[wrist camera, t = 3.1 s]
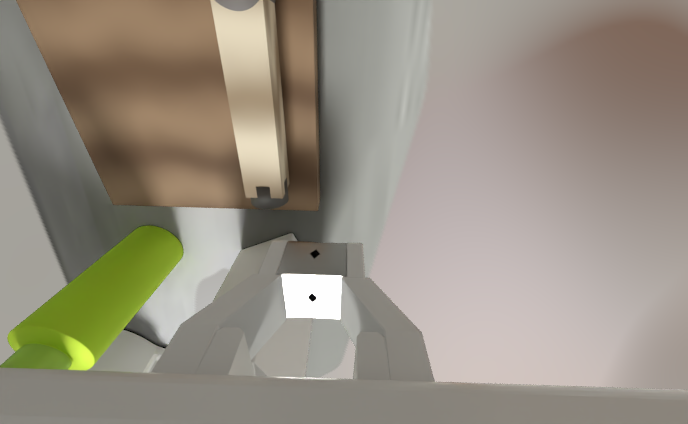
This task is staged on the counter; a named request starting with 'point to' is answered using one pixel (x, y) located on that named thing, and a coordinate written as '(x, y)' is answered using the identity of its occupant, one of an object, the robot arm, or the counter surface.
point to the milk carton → (292, 336)
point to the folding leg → (254, 96)
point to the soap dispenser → (95, 304)
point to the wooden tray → (173, 97)
